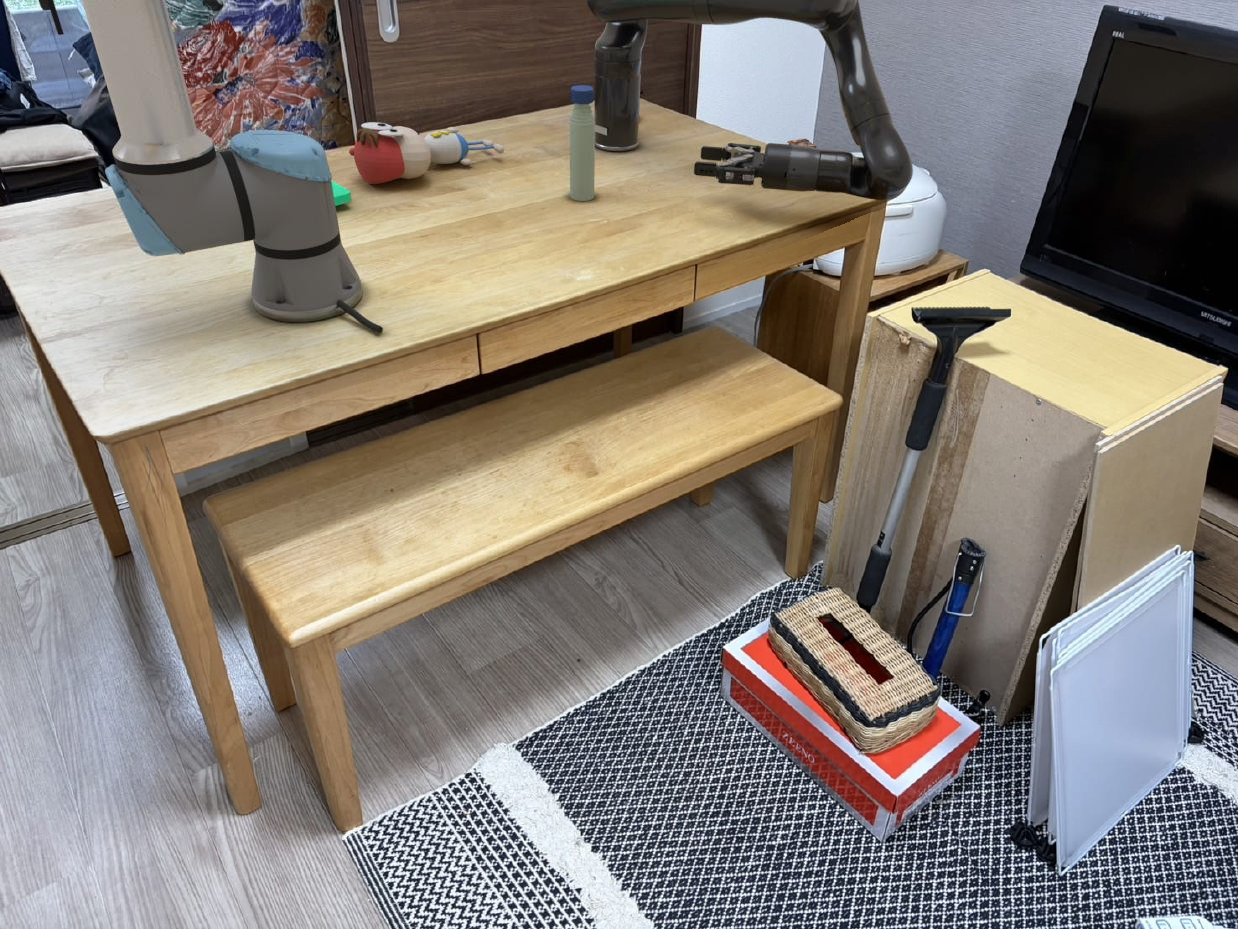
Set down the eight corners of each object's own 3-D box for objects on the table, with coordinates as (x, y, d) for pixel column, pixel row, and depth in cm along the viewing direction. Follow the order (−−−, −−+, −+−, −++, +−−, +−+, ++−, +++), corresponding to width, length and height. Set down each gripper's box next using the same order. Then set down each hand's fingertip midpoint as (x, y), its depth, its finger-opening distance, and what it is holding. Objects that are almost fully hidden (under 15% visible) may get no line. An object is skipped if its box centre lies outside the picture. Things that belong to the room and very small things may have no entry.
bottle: (598, 194, 171) (599, 89, 159) (588, 202, 167) (588, 95, 156) (576, 190, 172) (576, 85, 161) (565, 198, 169) (565, 91, 157)
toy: (520, 129, 175) (365, 133, 160) (519, 183, 180) (369, 192, 165) (478, 113, 188) (332, 115, 173) (478, 164, 193) (336, 170, 178)
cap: (597, 99, 160) (597, 86, 159) (587, 105, 157) (587, 92, 156) (576, 96, 162) (576, 83, 160) (567, 102, 159) (567, 89, 157)
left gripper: (151, -134, 141) (187, 17, 154) (-38, -132, 131) (17, 30, 144) (159, -130, 136) (195, 26, 149) (-37, -127, 126) (20, 41, 138)
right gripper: (796, 133, 162) (704, 126, 165) (791, 159, 151) (693, 151, 154) (790, 175, 167) (701, 168, 169) (786, 203, 156) (690, 195, 158)
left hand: (108, 29), depth 146 cm, fingers open, 13 cm apart
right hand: (697, 160), depth 161 cm, fingers open, 8 cm apart
